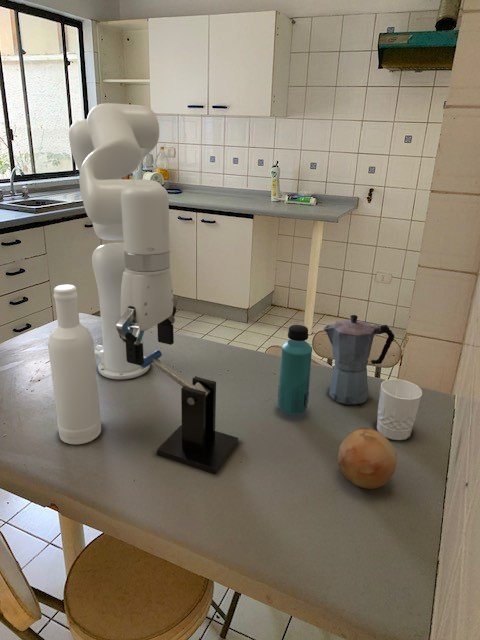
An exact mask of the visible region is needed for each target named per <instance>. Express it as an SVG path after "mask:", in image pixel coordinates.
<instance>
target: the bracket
mask: <svg viewBox="0 0 480 640" xmlns="http://www.w3.org/2000/svg"><path fill="white" fill-rule="evenodd" d="M191 380H192V382H191V383H192V384H193V385H195V384H197V383H198V382H199V383H200V384H201V385H203V386H204V387H206V388H207V389H208V390H210V393H209V394H208V396H207V398H206V392H204V391H200V390H197V389H193V388H189V387H185V386H184V387H182V386H181V389H180V390H181V391H180V394H181V395H180V399H181V400H180V401H181V424H180V425H179V426H178V427H177V429H175V430H174V431H173V433H171V435H169V437H168V438H167V439H166V440H165V441H164V442H163V443H162V444H161V445H160V446H159V447H158V448H157V449H156V455H157V456H160V457H162V458H166V459H169V460H172V461H173V462H174V461H175V462H177V463H180V464H184V465H186V466H189V467H192V468H195V469H199V470H202V471H205V472H206V473H210V474H213V475H216V474H217V473H218V471H219V470H220V469H221V467H223V464H224V463H225V462H226V460H227V459H228V458H229V456H230V455H231V453H232V452H233V451H234V450H235V448H236V447H237V445H238V444H239V437H237V436H233V435H230V434H227V433H223V432H221V431H217V430H216V406H217V405H216V404H217V381H214V380H211V379H207V378H204V377H199V376H194V377H192V379H191Z"/></svg>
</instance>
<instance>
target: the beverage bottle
mask: <svg viewBox="0 0 480 640" xmlns="http://www.w3.org/2000/svg"><path fill="white" fill-rule="evenodd" d="M287 338H288V340H287V341H285V342H284V343H283V344H282V346H281V358H280V369H279V377H278V378H279V379H278V380H279V382H278V391H277V405H278V408H279V409H280V410H281V411H283V413H285V414H289V415H299V414H300V415H301V414H303V413H304V412H306V410H307V409H308V404H309V398H310V397H309V396H310V382H311V371H312V368H311V367H312V355H313V354H312V353H313V347H312V345H311V344H310V343H309V342H308V341H307V340H308V339H309V328H308V327H307V326H306V325H302V324H293V325H291V326H288V332H287Z"/></svg>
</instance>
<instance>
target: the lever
mask: <svg viewBox="0 0 480 640" xmlns="http://www.w3.org/2000/svg"><path fill="white" fill-rule="evenodd" d="M162 355H163V353H162V351H161V350H159V349H157V350H155V351H153V352H152V353H151V354H149V355H147V356H145V357H146V358H145V359H144V364H143V365H141V367H143V368H146V367H147V366H149V365H150V366H151V365H152V366H154V367H155V368H156V369H157V370H159V371H160V372H162V373H163V374H165V376H167V377H169V378H170V379H171V380H173V382H176V383H177V384H178V385H180V386H181V388H182V387H184V386H185V387H189V388H193V389H197V390H200V391H204V392H206V398H207V396H208V394H209V393H210V390H208V389H207V388H206V387H204V386H203V385H201V384H200V383H199V382H198V383H197V384H195V385H193V384H192V382H191V381H189V380H188V379H187V378H185V377H184V376H182V375H180V374H179V373H178V372H176V371H175V370H174V369H173V368H171V366H168V365H167V364H166V363H164V362H163V361H162V360H160V358H161V357H162Z"/></svg>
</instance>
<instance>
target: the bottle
mask: <svg viewBox="0 0 480 640" xmlns="http://www.w3.org/2000/svg"><path fill="white" fill-rule="evenodd" d="M78 297H79V294H78V291H77V287H76V286H75V285H73V284H69V283H68V284H65V283H64V284H59V285H57V286H55V287H54V288H53V298H54V302H55V311H56V319H57V325H56V326H55V327H54V328H53V329H52V331H51V332H50V334H49V338H48V342H47V350H48V357H49V365H50V372H51V373H50V374H51V381H52V388H53V389H52V390H53V396H54V403H55V412H56V419H57V422H56V423H57V430H58V435H59V439H60V440H61V441H62V442H63V443H66V444H68V445H83V444H84V445H85V444H87V443H90V442H92V441H93V440H95V439H97V438H98V436H100V434H101V431H102V417H101V411H100V401H99V399H100V398H99V388H98V376H97V375H98V374H97V364H96V356H95V352H94V350H95V342H94V338H93V336H92V334H91V332H90V330H89V328H88V327H86V326H85V325H84V324H82V323H81V322H80V314H79V302H78Z"/></svg>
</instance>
